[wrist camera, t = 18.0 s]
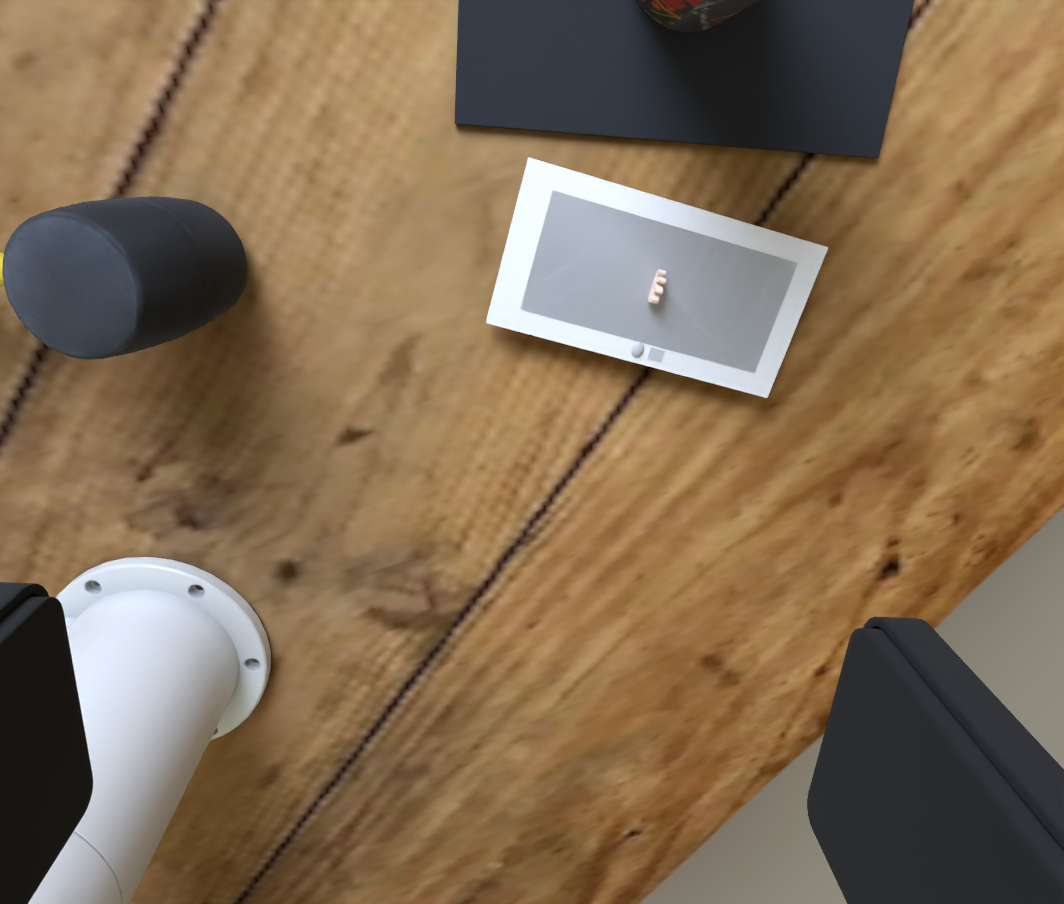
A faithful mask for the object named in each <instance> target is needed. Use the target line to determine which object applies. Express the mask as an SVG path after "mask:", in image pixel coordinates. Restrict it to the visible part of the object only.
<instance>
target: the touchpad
mask: <svg viewBox="0 0 1064 904" xmlns="http://www.w3.org/2000/svg"><path fill="white" fill-rule="evenodd" d="M827 250H828V247H825V246H822V245H819V244H815V243H812V242H809V241H805V240H802V239H799V238H795V237H792V236H789V235H785V234H782V233H779V232H775V231H772V230H769V229H765V228H762V227H759V226H755V225H752V224H749V223H745V222H742V221H739V220H735V219H732V218H729V217H725V216H722V215H719V214H715V213H712V212H709V211H705V210H702V209H699V208H696V207H692V206H689V205H686V204H682V203H679V202H676V201H672V200H669V199H666V198H662V197H659V196H656V195H652V194H649V193H646V192H642V191H639V190H636V189H632V188H629V187H626V186H622V185H619V184H616V183H612V182H609V181H606V180H602V179H599V178H596V177H592V176H589V175H586V174H582V173H579V172H576V171H572V170H569V169H566V168H562V167H559V166H556V165H552V164H549V163H546V162H542V161H539V160H536V159H532V158H529V157H528V161H527V165H526V169H525V172H524V176H523V180H522V184H521V188H520V192H519V196H518V200H517V203H516V207H515V211H514V215H513V219H512V223H511V227H510V230H509V234H508V238H507V242H506V246H505V250H504V254H503V258H502V261H501V265H500V269H499V273H498V277H497V281H496V285H495V289H494V292H493V296H492V300H491V304H490V308H489V312H488V316H487V320H486V323H488V324H491V325H495V326H499V327H503V328H506V329H510V330H514V331H518V332H521V333H525V334H529V335H533V336H536V337H540V338H544V339H548V340H551V341H555V342H559V343H563V344H566V345H570V346H574V347H578V348H581V349H585V350H589V351H593V352H596V353H600V354H604V355H608V356H611V357H615V358H619V359H623V360H626V361H630V362H634V363H638V364H641V365H645V366H649V367H653V368H656V369H660V370H664V371H667V372H671V373H675V374H679V375H682V376H686V377H690V378H694V379H697V380H701V381H705V382H709V383H712V384H716V385H720V386H724V387H727V388H731V389H735V390H739V391H742V392H746V393H750V394H754V395H757V396H761V397H765V398H768V395H769V393H770V390H771V388H772V385H773V383H774V380H775V378H776V376H777V373H778V371H779V368H780V366H781V363H782V361H783V358H784V356H785V353H786V351H787V348H788V346H789V343H790V341H791V339H792V336H793V334H794V331H795V329H796V326H797V324H798V321H799V319H800V316H801V314H802V311H803V309H804V307H805V304H806V302H807V299H808V297H809V294H810V292H811V289H812V287H813V284H814V282H815V279H816V277H817V274H818V272H819V270H820V267H821V265H822V262H823V260H824V257H825V255H826V252H827Z"/></svg>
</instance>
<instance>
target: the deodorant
mask: <svg viewBox="0 0 1064 904" xmlns="http://www.w3.org/2000/svg"><path fill="white" fill-rule="evenodd" d="M757 1H758V0H637V2H638V4H639V5H640V7H641V8H642V9H643V10H644V11H645V12H646V13H647V14H648V15H649V16H650V17H651V18H652V20H654V21H656V22H657V23H659V24H661V25H663V26H664V27H666V28H668V29H672V30H676V31H681V32H697V31H704V30H706V29H709V28H711V27H714V26H717V25H719V24H721V23H722V22H724V21H726V20H727V19H729V18H731V17H732V16H734V15H736V14H737V13H739V12H740V11H742V10H744V9H745V8H747V7H749V6H750V5H752V4H754V3H755V2H757Z"/></svg>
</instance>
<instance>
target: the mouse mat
mask: <svg viewBox="0 0 1064 904" xmlns="http://www.w3.org/2000/svg"><path fill="white" fill-rule="evenodd" d="M913 1H914V0H758V1H757V2H755V3H754V4H752V5H750V6H749V7H747V8H745V9H744V10H742V11H740V12H739V13H737V14H736V15H734V16H732V17H731V18H729V19H727V20H726V21H724V22H722V23H721V24H719V25H717V26H714V27H711V28H709V29H706V30H704V31H697V32H681V31H676V30H672V29H668V28H666V27H664V26H663V25H661V24H659V23H657V22H656V21H654V20H652V18H651V17H650V16H649V15H648V14H647V13H646V12H645V11H644V10H643V9H642V8H641V7H640V5H639V4H638V2H637V0H459V10H458V40H457V70H456V100H455V124H461V125H473V126H486V127H498V128H510V129H522V130H535V131H547V132H559V133H571V134H584V135H596V136H608V137H620V138H633V139H645V140H657V141H669V142H682V143H694V144H706V145H718V146H731V147H743V148H755V149H767V150H780V151H792V152H804V153H817V154H829V155H841V156H853V157H866V158H879V153H880V149H881V144H882V140H883V136H884V131H885V127H886V122H887V118H888V113H889V109H890V104H891V100H892V95H893V91H894V86H895V82H896V77H897V73H898V68H899V64H900V59H901V55H902V51H903V46H904V42H905V37H906V33H907V28H908V24H909V19H910V15H911V10H912V6H913Z"/></svg>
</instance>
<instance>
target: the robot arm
mask: <svg viewBox="0 0 1064 904" xmlns="http://www.w3.org/2000/svg"><path fill="white" fill-rule="evenodd" d="M270 670H271V650H270V646H269V642H268V638H267V634H266V632H265V630H264V628H263V626H262V623H261V621H260V619H259V617H258V616H257V615H256V613H255V612H254V611H253V609H252V608H251V606H250V605H249V604H248V602H247V601H246V600H245V599H244V598H243V597H241V596H240V595H239V594H238V593H237V592H236V591H235V590H234V589H233V588H232V587H230V586H229V585H228V584H226V583H225V582H223V581H222V580H220V579H219V578H217V577H216V576H214V575H212V574H210V573H208V572H206V571H203V570H201V569H199V568H197V567H195V566H192V565H189V564H185V563H182V562H178V561H175V560H171V559H163V558H155V557H132V558H123V559H119V560H114V561H109V562H105V563H103V564H101V565H98V566H96V567H94V568H91V569H89V570H87V571H86V572H84V573H83V574H81V575H80V576H78V577H77V578H75V579H74V580H73V581H71V582H70V583H69V584H68V585H67V587H66V588H65V589H63V590H62V591H61V592H60V593H59V594H58V595H57V597H56V598H54V597H49V595H48V592H47V591H46V590H45V588H44V587H43V586H41V585H39V584H31V583H6V582H0V904H129V903H130V901H131V899H132V897H133V895H134V893H135V891H136V889H137V887H138V885H139V883H140V881H141V879H142V877H143V875H144V873H145V871H146V869H147V867H148V865H149V863H150V861H151V859H152V857H153V855H154V853H155V851H156V849H157V847H158V845H159V843H160V841H161V839H162V837H163V835H164V833H165V831H166V829H167V826H168V824H169V822H170V820H171V818H172V816H173V814H174V812H175V810H176V808H177V806H178V804H179V802H180V800H181V798H182V796H183V794H184V792H185V790H186V788H187V786H188V784H189V782H190V780H191V778H192V776H193V774H194V772H195V770H196V768H197V766H198V764H199V762H200V760H201V758H202V756H203V754H204V752H205V750H206V748H207V746H208V744H209V742H210V740H213V739H216V738H218V737H221V736H223V735H225V734H226V733H228V732H230V731H231V730H233V729H234V728H236V727H238V726H239V725H240V724H241V723H242V722H243V721H244V720H245V719H246V718H247V717H248V716H249V715H250V714H251V713H252V712H253V710H254V709H255V707H256V706H257V704H258V703H259V701H260V699H261V697H262V694H263V692H264V690H265V688H266V685H267V682H268V678H269V674H270ZM807 808H808V816H809V820H810V824H811V827H812V829H813V831H814V834H815V836H816V838H817V840H818V842H819V844H820V846H821V848H822V850H823V853H824V855H825V857H826V859H827V861H828V863H829V865H830V868H831V870H832V872H833V874H834V876H835V878H836V880H837V882H838V885H839V887H840V889H841V891H842V893H843V895H844V897H845V899H846V902H847V904H1064V769H1063V768H1062V767H1061V766H1060V765H1059V764H1058V763H1057V762H1056V761H1055V760H1054V759H1053V757H1052V756H1051V755H1050V754H1049V753H1048V752H1047V751H1046V750H1045V749H1044V748H1043V747H1042V746H1041V745H1040V743H1039V742H1038V741H1037V740H1036V739H1035V738H1034V737H1033V736H1032V735H1031V734H1030V733H1029V732H1028V731H1027V729H1025V727H1024V726H1023V725H1022V724H1021V723H1020V722H1019V721H1018V720H1017V719H1016V718H1015V717H1014V715H1013V714H1012V713H1011V712H1010V711H1009V710H1008V709H1007V708H1006V707H1005V706H1004V705H1003V704H1002V703H1001V701H1000V700H999V699H998V698H997V697H996V696H995V695H994V694H993V693H992V692H991V691H990V690H989V689H988V687H986V686H985V684H984V683H983V682H982V681H981V680H980V679H979V678H978V677H977V676H976V675H975V674H974V672H973V671H972V670H971V669H970V668H969V667H968V666H967V665H966V664H965V663H964V662H963V661H962V659H961V658H960V657H959V656H958V655H957V654H956V653H955V652H954V651H953V650H952V649H951V648H950V647H949V646H948V644H947V643H946V642H944V640H943V639H942V638H941V637H940V636H939V635H938V634H937V633H936V632H935V630H934V629H933V628H932V627H931V626H930V625H929V624H928V623H926V622H925V621H924V620H921V619H917V618H892V617H873V618H871V619H869V620H868V621H867V622H866V624H865V625H864V628H858V629H856V630H855V631H854V632H853V633H852V635H851V637H850V640H849V644H848V648H847V651H846V655H845V659H844V662H843V666H842V670H841V674H840V677H839V681H838V685H837V689H836V692H835V696H834V700H833V703H832V707H831V711H830V715H829V718H828V722H827V726H826V730H825V733H824V737H823V741H822V744H821V748H820V752H819V756H818V759H817V763H816V767H815V771H814V774H813V778H812V782H811V785H810V789H809V793H808V799H807Z"/></svg>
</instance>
